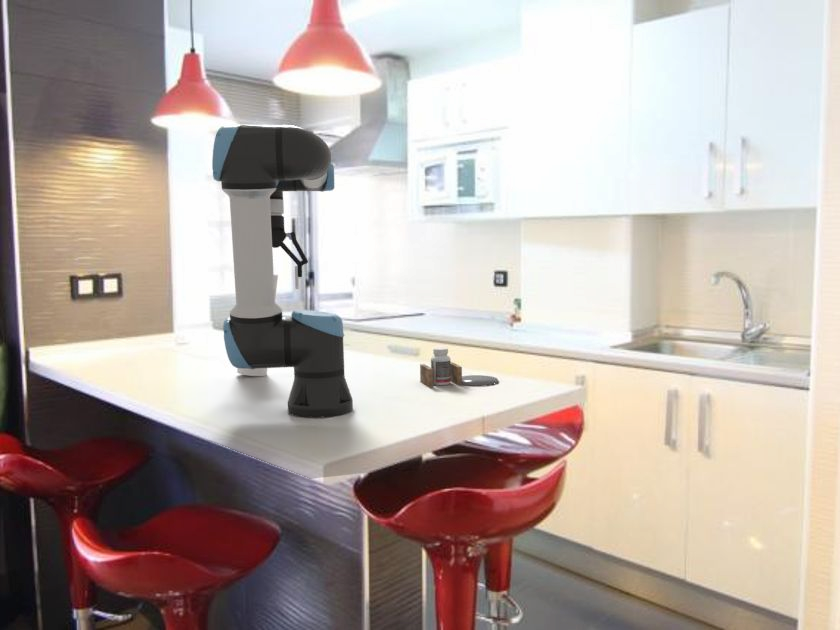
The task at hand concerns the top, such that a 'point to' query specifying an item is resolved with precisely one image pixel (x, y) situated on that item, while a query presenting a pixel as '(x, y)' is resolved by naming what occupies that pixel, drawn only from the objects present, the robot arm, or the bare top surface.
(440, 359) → the pill bottle
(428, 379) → the cradle
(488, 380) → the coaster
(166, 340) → the top surface
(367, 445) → the top surface
